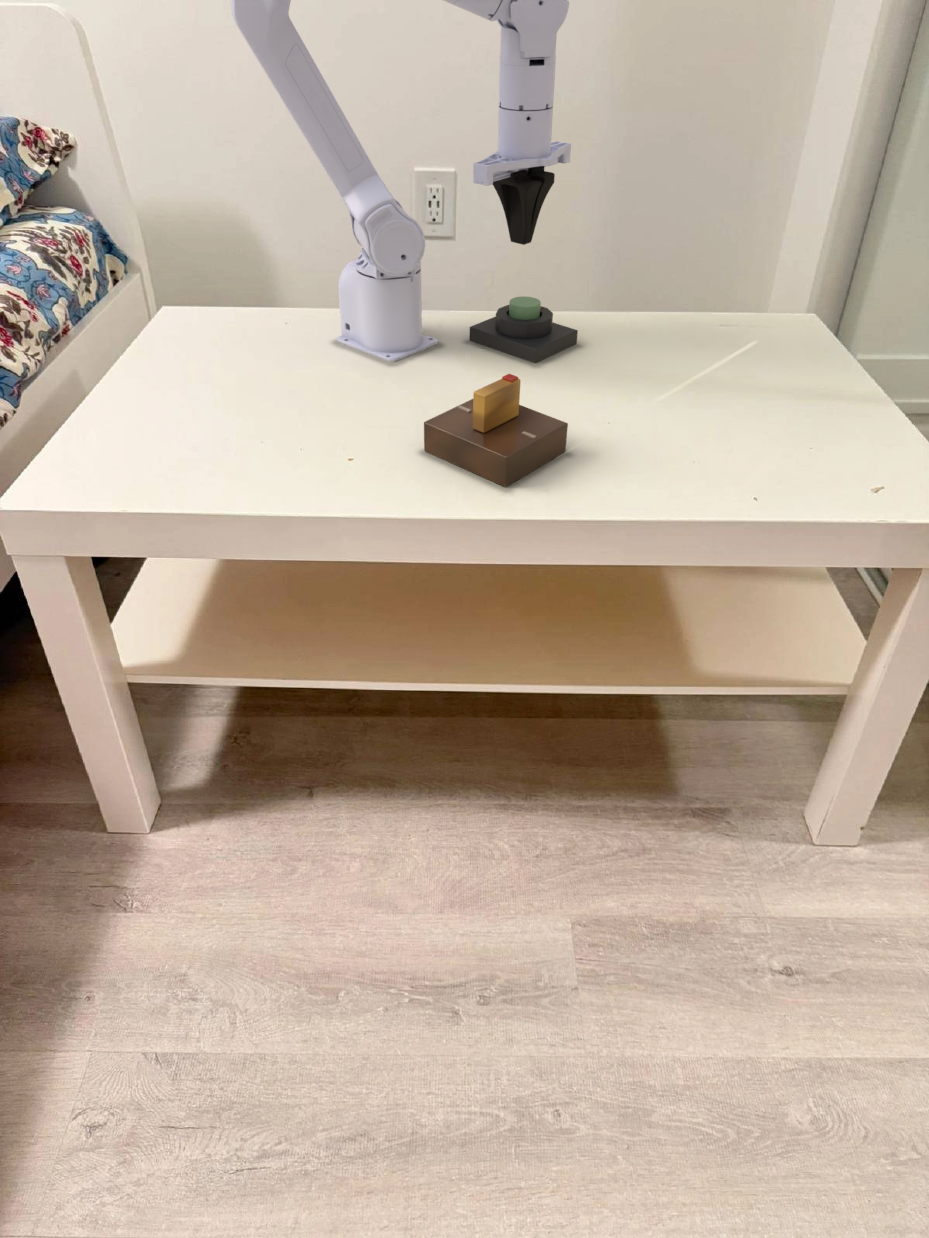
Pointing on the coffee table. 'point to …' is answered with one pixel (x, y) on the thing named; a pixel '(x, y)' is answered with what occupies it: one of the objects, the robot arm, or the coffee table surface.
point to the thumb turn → (496, 403)
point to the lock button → (524, 308)
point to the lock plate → (496, 442)
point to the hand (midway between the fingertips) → (520, 242)
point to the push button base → (524, 335)
